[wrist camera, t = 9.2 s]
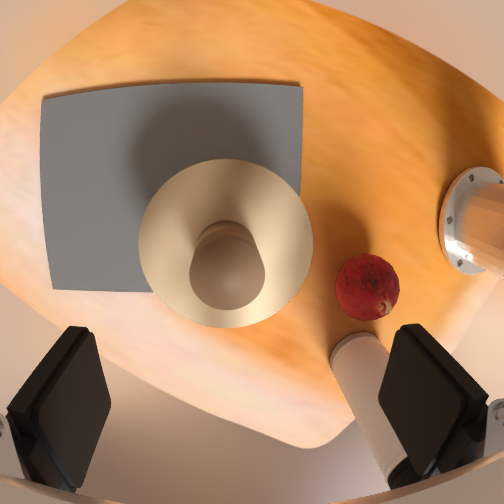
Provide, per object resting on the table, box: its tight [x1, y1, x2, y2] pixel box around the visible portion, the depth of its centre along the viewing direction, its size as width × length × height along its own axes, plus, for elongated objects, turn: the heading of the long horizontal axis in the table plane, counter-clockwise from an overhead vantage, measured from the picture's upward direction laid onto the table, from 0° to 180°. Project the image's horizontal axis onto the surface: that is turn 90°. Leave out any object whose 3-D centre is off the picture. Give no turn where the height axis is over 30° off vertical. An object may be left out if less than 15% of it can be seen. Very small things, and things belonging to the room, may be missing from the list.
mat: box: [40, 83, 303, 292], centre depth 27 cm, size 24×19×1 cm
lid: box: [138, 159, 313, 328], centre depth 20 cm, size 12×12×6 cm
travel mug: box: [330, 332, 424, 490], centre depth 25 cm, size 6×7×20 cm
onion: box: [335, 254, 400, 321], centre depth 27 cm, size 6×6×8 cm
